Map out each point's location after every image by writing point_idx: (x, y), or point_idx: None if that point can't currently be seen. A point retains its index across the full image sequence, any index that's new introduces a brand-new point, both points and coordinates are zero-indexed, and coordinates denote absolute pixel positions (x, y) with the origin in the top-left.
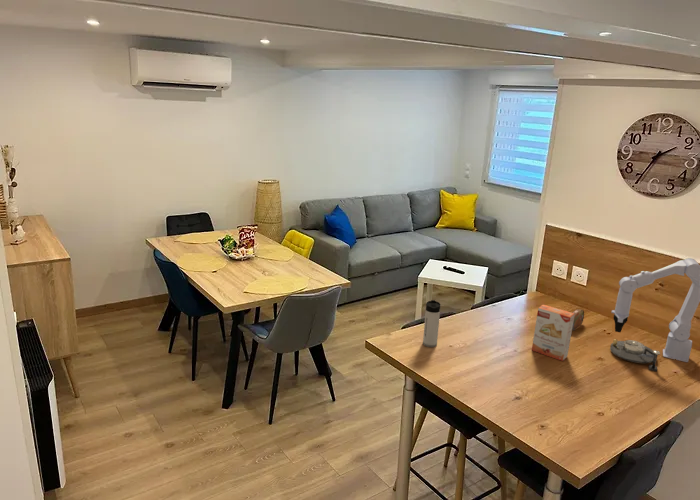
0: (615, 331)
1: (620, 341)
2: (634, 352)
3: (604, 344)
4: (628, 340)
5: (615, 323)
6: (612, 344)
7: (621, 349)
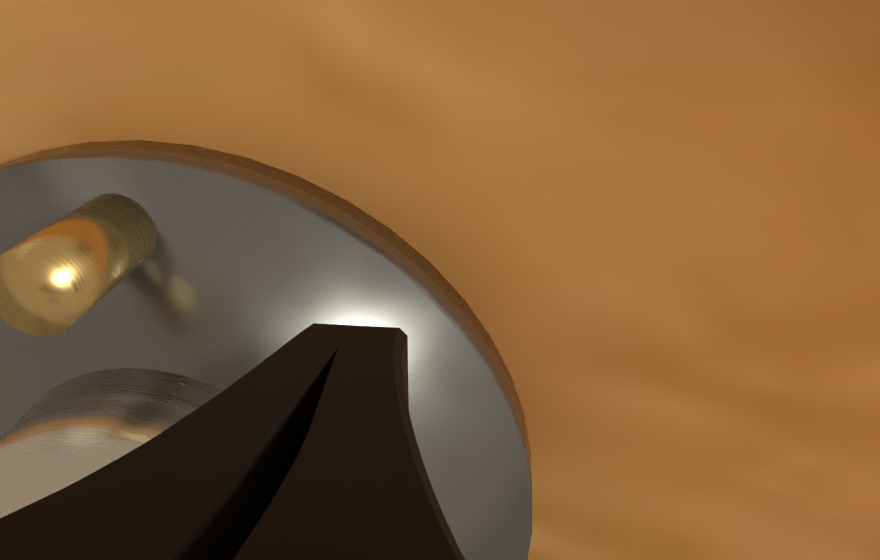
0: (307, 330)
1: (435, 334)
2: None
3: (383, 15)
4: None
5: (53, 512)
6: (162, 192)
7: (55, 345)
